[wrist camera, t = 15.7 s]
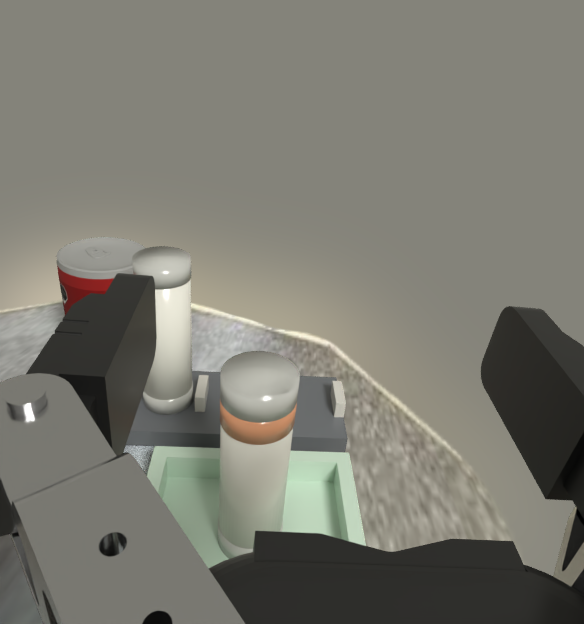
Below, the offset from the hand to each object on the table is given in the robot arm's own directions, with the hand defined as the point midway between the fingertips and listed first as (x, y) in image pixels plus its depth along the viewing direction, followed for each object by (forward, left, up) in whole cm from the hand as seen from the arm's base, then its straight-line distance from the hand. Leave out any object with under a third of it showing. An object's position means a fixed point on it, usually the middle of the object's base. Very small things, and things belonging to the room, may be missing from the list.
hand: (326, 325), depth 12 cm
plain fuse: (-9, +24, -22) cm, 34 cm away
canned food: (-15, +32, -24) cm, 43 cm away
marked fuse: (-1, +11, -23) cm, 25 cm away
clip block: (-3, +24, -24) cm, 34 cm away
